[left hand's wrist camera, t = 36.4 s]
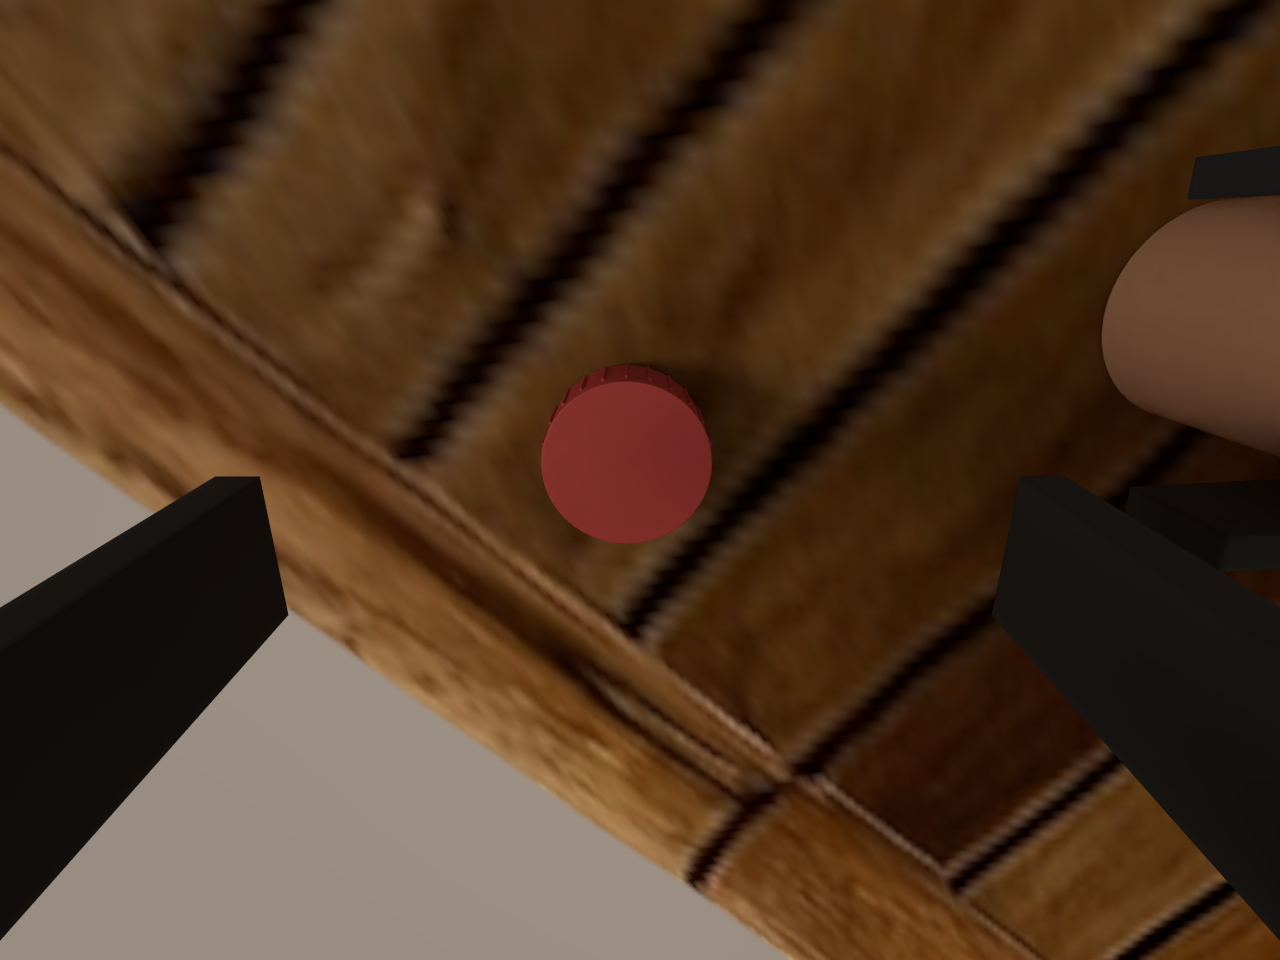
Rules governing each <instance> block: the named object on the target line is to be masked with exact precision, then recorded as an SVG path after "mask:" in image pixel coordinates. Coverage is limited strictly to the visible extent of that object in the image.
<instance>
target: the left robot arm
mask: <svg viewBox="0 0 1280 960" xmlns="http://www.w3.org/2000/svg"><path fill="white" fill-rule="evenodd" d="M287 616H288V611H287V606H286V601H285V596H284V591H283V587H282V582H281V577H280V572H279V567H278V562H277V558H276V553H275V548H274V543H273V538H272V534H271V529H270V524H269V519H268V514H267V509H266V505H265V500H264V495H263V490H262V485H261V480H260V477H214V478H212V479H210V480H209V481H207V482H206V483H204V484H202V485H201V486H199V487H197V488H196V489H194V490H192V491H191V492H189V493H187V494H186V495H184V496H183V497H181V498H179V499H178V500H176V501H174V502H173V503H171V504H169V505H168V506H166V507H165V508H163V509H161V510H160V511H158V512H156V513H155V514H153V515H151V516H150V517H148V518H146V519H145V520H143V521H142V522H140V523H138V524H137V525H135V526H133V527H132V528H130V529H128V530H127V531H125V532H123V533H122V534H120V535H119V536H117V537H115V538H114V539H112V540H110V541H109V542H107V543H105V544H104V545H102V546H101V547H99V548H97V549H96V550H94V551H92V552H91V553H89V554H87V555H86V556H84V557H83V558H81V559H79V560H78V561H76V562H74V563H73V564H71V565H69V566H68V567H66V568H64V569H63V570H61V571H59V572H58V573H56V574H55V575H53V576H51V577H50V578H48V579H46V580H45V581H43V582H41V583H40V584H38V585H37V586H35V587H33V588H32V589H30V590H28V591H27V592H25V593H23V594H22V595H20V596H18V597H17V598H15V599H14V600H12V601H10V602H9V603H7V604H5V605H4V606H2V607H0V940H1V939H2V938H3V937H4V936H5V935H6V933H7V932H8V931H9V930H10V929H11V928H12V927H13V925H14V924H15V923H16V922H17V921H18V920H19V919H20V918H21V916H22V915H23V914H24V913H25V912H26V911H27V910H28V909H29V907H30V906H31V905H32V904H33V903H34V902H35V901H36V900H37V898H38V897H39V896H40V895H41V894H42V893H43V892H44V890H45V889H46V888H47V887H48V886H49V885H50V884H51V883H52V881H53V880H54V879H55V878H56V877H57V876H58V875H59V874H60V872H61V871H62V870H63V869H64V868H65V867H66V866H67V864H68V863H69V862H70V861H71V860H72V859H73V858H74V857H75V855H76V854H77V853H78V852H79V851H80V850H81V849H82V848H83V846H84V845H85V844H86V843H87V842H88V841H89V840H90V838H91V837H92V836H93V835H94V834H95V833H96V832H97V831H98V829H99V828H100V827H101V826H102V825H103V824H104V823H105V822H106V820H107V819H108V818H109V817H110V816H111V815H112V814H113V812H114V811H115V810H116V809H117V808H118V807H119V806H120V805H121V803H122V802H123V801H124V800H125V799H126V798H127V797H128V796H129V794H130V793H131V792H132V791H133V790H134V789H135V788H136V787H137V785H138V784H139V783H140V782H141V781H142V780H143V779H144V778H145V776H146V775H147V774H148V773H149V772H150V771H151V770H152V768H153V767H154V766H155V765H156V764H157V763H158V762H159V761H160V759H161V758H162V757H163V756H164V755H165V754H166V753H167V752H168V750H169V749H170V748H171V747H172V746H173V745H174V744H175V742H176V741H177V740H178V739H179V738H180V737H181V736H182V735H183V733H184V732H185V731H186V730H187V729H188V728H189V727H190V726H191V724H192V723H193V722H194V721H195V720H196V719H197V718H198V717H199V715H200V714H201V713H202V712H203V711H204V710H205V709H206V707H207V706H208V705H209V704H210V703H211V702H212V701H213V699H214V698H215V697H216V696H217V695H218V694H219V693H220V692H221V691H222V689H223V688H224V687H225V686H226V685H227V684H228V683H229V681H230V680H231V679H232V678H233V677H234V676H235V675H236V674H237V672H238V671H239V670H240V669H241V668H242V667H243V666H244V665H245V663H246V662H247V661H248V660H249V659H250V658H251V657H252V656H253V654H254V653H255V652H256V651H257V650H258V649H259V648H260V646H261V645H262V644H263V643H264V642H265V641H266V640H267V639H268V637H269V636H270V635H271V634H272V633H273V632H274V631H275V630H276V628H277V627H278V626H279V625H280V624H281V623H282V622H283V620H284V619H285V618H286V617H287ZM992 616H993V617H994V618H995V619H996V620H997V622H998V623H999V624H1000V625H1001V626H1002V627H1003V628H1004V630H1005V631H1006V632H1007V633H1008V634H1009V635H1010V636H1011V637H1012V639H1013V640H1014V641H1015V642H1016V643H1017V644H1018V645H1019V646H1020V648H1021V649H1022V650H1023V651H1024V652H1025V653H1026V654H1027V656H1028V657H1029V658H1030V659H1031V660H1032V661H1033V662H1034V663H1035V665H1036V666H1037V667H1038V668H1039V669H1040V670H1041V671H1042V672H1043V674H1044V675H1045V676H1046V677H1047V678H1048V679H1049V680H1050V681H1051V683H1052V684H1053V685H1054V686H1055V687H1056V688H1057V689H1058V691H1059V692H1060V693H1061V694H1062V695H1063V696H1064V697H1065V698H1066V700H1067V701H1068V702H1069V703H1070V704H1071V705H1072V706H1073V707H1074V709H1075V710H1076V711H1077V712H1078V713H1079V714H1080V715H1081V717H1082V718H1083V719H1084V720H1085V721H1086V722H1087V723H1088V724H1089V726H1090V727H1091V728H1092V729H1093V730H1094V731H1095V732H1096V733H1097V735H1098V736H1099V737H1100V738H1101V739H1102V740H1103V741H1104V742H1105V744H1106V745H1107V746H1108V747H1109V748H1110V749H1111V750H1112V752H1113V753H1114V754H1115V755H1116V756H1117V757H1118V758H1119V759H1120V761H1121V762H1122V763H1123V764H1124V765H1125V766H1126V767H1127V768H1128V770H1129V771H1130V772H1131V773H1132V774H1133V775H1134V776H1135V778H1136V779H1137V780H1138V781H1139V782H1140V783H1141V784H1142V785H1143V787H1144V788H1145V789H1146V790H1147V791H1148V792H1149V793H1150V794H1151V796H1152V797H1153V798H1154V799H1155V800H1156V801H1157V802H1158V803H1159V805H1160V806H1161V807H1162V808H1163V809H1164V810H1165V811H1166V813H1167V814H1168V815H1169V816H1170V817H1171V818H1172V819H1173V820H1174V822H1175V823H1176V824H1177V825H1178V826H1179V827H1180V828H1181V829H1182V831H1183V832H1184V833H1185V834H1186V835H1187V836H1188V837H1189V839H1190V840H1191V841H1192V842H1193V843H1194V844H1195V845H1196V846H1197V848H1198V849H1199V850H1200V851H1201V852H1202V853H1203V854H1204V855H1205V857H1206V858H1207V859H1208V860H1209V861H1210V862H1211V863H1212V864H1213V866H1214V867H1215V868H1216V869H1217V870H1218V871H1219V872H1220V874H1221V875H1222V876H1223V877H1224V878H1225V879H1226V880H1227V881H1228V883H1229V884H1230V885H1231V886H1232V887H1233V888H1234V889H1235V890H1236V892H1237V893H1238V894H1239V895H1240V896H1241V897H1242V898H1243V900H1244V901H1245V902H1246V903H1247V904H1248V905H1249V906H1250V907H1251V909H1252V910H1253V911H1254V912H1255V913H1256V914H1257V915H1258V916H1259V918H1260V919H1261V920H1262V921H1263V922H1264V923H1265V924H1266V925H1267V927H1268V928H1269V929H1270V930H1271V931H1272V932H1273V933H1274V935H1275V936H1276V937H1277V938H1278V939H1279V940H1280V607H1278V606H1276V605H1275V604H1273V603H1271V602H1270V601H1268V600H1266V599H1265V598H1263V597H1262V596H1260V595H1258V594H1257V593H1255V592H1253V591H1252V590H1250V589H1248V588H1247V587H1245V586H1243V585H1242V584H1240V583H1239V582H1237V581H1235V580H1234V579H1232V578H1230V577H1229V576H1227V575H1225V574H1224V573H1222V572H1221V571H1219V570H1217V569H1216V568H1214V567H1212V566H1211V565H1209V564H1207V563H1206V562H1204V561H1202V560H1201V559H1199V558H1198V557H1196V556H1194V555H1193V554H1191V553H1189V552H1188V551H1186V550H1184V549H1183V548H1181V547H1179V546H1178V545H1176V544H1175V543H1173V542H1171V541H1170V540H1168V539H1166V538H1165V537H1163V536H1161V535H1160V534H1158V533H1157V532H1155V531H1153V530H1152V529H1150V528H1148V527H1147V526H1145V525H1143V524H1142V523H1140V522H1138V521H1137V520H1135V519H1134V518H1132V517H1130V516H1129V515H1127V514H1125V513H1124V512H1122V511H1120V510H1119V509H1117V508H1115V507H1114V506H1112V505H1111V504H1109V503H1107V502H1106V501H1104V500H1102V499H1101V498H1099V497H1097V496H1096V495H1094V494H1093V493H1091V492H1089V491H1088V490H1086V489H1084V488H1083V487H1081V486H1079V485H1078V484H1076V483H1074V482H1073V481H1071V480H1070V479H1068V478H1066V477H1020V480H1019V485H1018V490H1017V495H1016V500H1015V505H1014V509H1013V514H1012V519H1011V524H1010V529H1009V534H1008V538H1007V543H1006V548H1005V553H1004V558H1003V562H1002V567H1001V572H1000V577H999V582H998V587H997V591H996V596H995V601H994V606H993V611H992Z"/></svg>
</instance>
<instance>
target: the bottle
mask: <svg viewBox="0 0 1280 960" xmlns="http://www.w3.org/2000/svg"><path fill="white" fill-rule="evenodd" d="M1102 350H1103V357H1104V361H1105V364H1106V368H1107V370H1108V373H1109V375H1110V377H1111V379H1112V381H1113V382H1114V384H1115V385H1116V387H1117V388H1118V390H1119V391H1120V392H1121V393H1122V394H1123V395H1124V396H1125V397H1126V398H1127V399H1128V400H1129V401H1130V402H1132V403H1133V404H1134V405H1136V406H1137V407H1139V408H1141V409H1143V410H1145V411H1147V412H1149V413H1152V414H1155V415H1158V416H1161V417H1164V418H1166V419H1169V420H1172V421H1175V422H1178V423H1181V424H1184V425H1187V426H1190V427H1193V428H1196V429H1198V430H1201V431H1204V432H1207V433H1210V434H1213V435H1216V436H1219V437H1222V438H1225V439H1228V440H1230V441H1233V442H1236V443H1239V444H1242V445H1245V446H1248V447H1251V448H1254V449H1257V450H1260V451H1262V452H1265V453H1268V454H1271V455H1274V456H1277V457H1280V195H1276V196H1259V197H1242V198H1231V199H1223V200H1219V201H1214V202H1210V203H1207V204H1204V205H1202V206H1199V207H1196V208H1194V209H1192V210H1190V211H1188V212H1186V213H1184V214H1181V215H1180V216H1178V217H1177V218H1175V219H1173V220H1172V221H1170V222H1169V223H1167V224H1165V225H1164V226H1163V227H1162V228H1160V229H1159V230H1158V231H1157V232H1155V233H1154V234H1153V235H1152V236H1151V237H1150V238H1149V239H1148V240H1147V241H1146V242H1145V243H1144V244H1143V245H1142V246H1141V247H1140V248H1139V249H1138V250H1137V251H1136V252H1135V254H1134V255H1133V256H1132V257H1131V258H1130V260H1129V261H1128V263H1127V264H1126V266H1125V267H1124V269H1123V270H1122V272H1121V273H1120V275H1119V277H1118V279H1117V281H1116V283H1115V285H1114V286H1113V289H1112V291H1111V294H1110V296H1109V299H1108V302H1107V305H1106V309H1105V313H1104V317H1103V325H1102Z"/></svg>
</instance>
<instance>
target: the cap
mask: <svg viewBox="0 0 1280 960" xmlns="http://www.w3.org/2000/svg"><path fill="white" fill-rule="evenodd" d="M704 423H705V422H704V419H703V417H702V414H701V412H700V409H699V407H698V405H697V406H695V404H694V402H693V400H692V399H691V397H690V396H689V394H688V392H687V389H686V388H684V389H683V388H682V387H681V386H680V385H679V384H678V383H676V382H675V381H674V380H672V379H671V377H670V375H667V376H666V375H664V374H663V373H661V372H658V371H656V370H653V369H650V367H649V366H647V368H646V367H642V366H635V365H628V363H625V365H619V366H612V367H608V368H606V366H604V367H603V369H601V370H598V371H596V372H594V373H591V374H589V375H588V376H586V375H584V376H583V378H582V379H581V380H580V381H579V382H578V383H576V384H575V385H574V386H573V387H572V388H571V389H569V388H568V389H567V391H566V393H565V396H564V398H563V399H562V401H561V402H560V404H559V406H556V407H555V409H554V412H553V414H552V416H551V419H550V421H549V423H548V424H549V425H550V426H549V428H548V430H547V433H546V435H545V437H544V440H543V442H542V446H543V448H542V457H541V467H542V476H543V480H544V484H545V487H546V490H547V493H548V495H549V497H550V499H551V501H552V502H553V504H554V505H555V507H556V508H557V510H558V511H559V512H560V513H561V514H562V516H563V517H564V518H565V519H566V520H567V521H569V522H570V523H571V524H572V525H573V526H575V527H576V528H578V529H579V530H581V531H582V532H584V533H586V534H588V535H590V536H592V537H595V538H598V539H601V540H604V541H608V542H613V543H623V544H624V543H640V542H646V541H650V540H653V539H656V538H659V537H661V536H664V535H666V534H668V533H670V532H671V531H673V530H675V529H676V528H678V527H679V526H680V525H682V524H683V523H684V522H685V521H686V520H687V519H688V518H690V517H691V515H692V514H693V513H694V512H695V511H696V509H697V508H698V507H699V505H700V503H701V502H702V500H703V498H704V496H705V494H706V492H707V489H708V486H709V483H710V479H711V473H712V465H713V464H712V452H711V446H710V445H712V443H711V440H710V437H709V435H708V432H707V430H706V427H705V425H703V424H704Z"/></svg>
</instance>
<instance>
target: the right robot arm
mask: <svg viewBox="0 0 1280 960" xmlns="http://www.w3.org/2000/svg"><path fill="white" fill-rule="evenodd" d="M1264 195H1280V146H1276V147H1269V148H1262V149H1254V150H1247V151H1239V152H1232V153H1225V154H1217V155H1210V156H1203V157H1196V160H1195V165H1194V170H1193V175H1192V180H1191V185H1190V190H1189V195H1188V199H1207V198H1226V197H1245V196H1264ZM1125 514H1127V515H1129V516H1130V517H1132V518H1134V519H1135V520H1137V521H1138V522H1140V523H1142V524H1143V525H1145V526H1147V527H1148V528H1150V529H1152V530H1153V531H1155V532H1157V533H1158V534H1160V535H1161V536H1163V537H1165V538H1166V539H1168V540H1170V541H1171V542H1173V543H1175V544H1176V545H1178V546H1179V547H1181V548H1183V549H1184V550H1186V551H1188V552H1189V553H1191V554H1193V555H1194V556H1196V557H1198V558H1199V559H1201V560H1202V561H1204V562H1206V563H1207V564H1209V565H1211V566H1212V567H1214V568H1216V569H1217V570H1219V571H1221V572H1233V571H1253V570H1273V569H1280V479H1276V480H1257V481H1237V482H1218V483H1198V484H1179V485H1159V486H1140V487H1130V491H1129V496H1128V501H1127V506H1126V511H1125Z"/></svg>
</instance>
